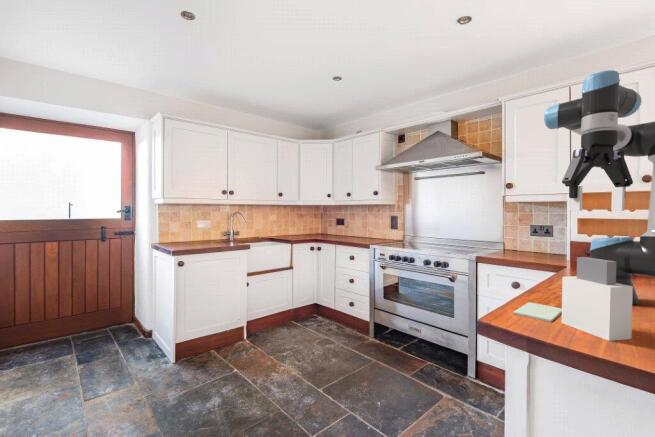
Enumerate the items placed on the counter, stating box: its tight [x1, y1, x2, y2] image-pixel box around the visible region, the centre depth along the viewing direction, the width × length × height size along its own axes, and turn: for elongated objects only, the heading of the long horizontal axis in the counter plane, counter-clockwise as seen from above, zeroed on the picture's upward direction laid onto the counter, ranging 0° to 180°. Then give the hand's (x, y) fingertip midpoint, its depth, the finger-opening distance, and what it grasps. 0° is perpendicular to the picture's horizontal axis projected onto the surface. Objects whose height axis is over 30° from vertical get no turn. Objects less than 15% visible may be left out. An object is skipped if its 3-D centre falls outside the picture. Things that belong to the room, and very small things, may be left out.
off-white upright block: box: [561, 256, 633, 342], centre depth 86 cm, size 7×13×20 cm, turn 11°
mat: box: [512, 301, 562, 323], centre depth 102 cm, size 10×16×1 cm, turn 132°
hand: (597, 211), depth 86 cm, fingers open, 13 cm apart
